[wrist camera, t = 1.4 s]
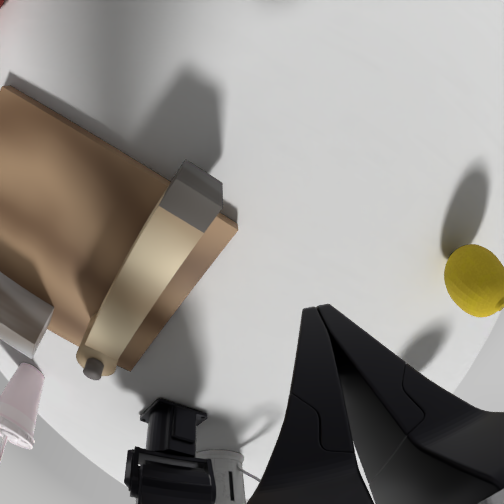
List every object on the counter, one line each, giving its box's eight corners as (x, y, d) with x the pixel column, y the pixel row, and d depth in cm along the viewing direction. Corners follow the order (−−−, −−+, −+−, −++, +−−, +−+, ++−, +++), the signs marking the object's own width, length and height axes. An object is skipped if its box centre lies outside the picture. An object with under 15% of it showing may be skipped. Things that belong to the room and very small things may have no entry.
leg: (118, 345, 24) (108, 381, 20) (86, 328, 22) (72, 363, 19) (226, 185, 18) (227, 211, 14) (181, 156, 17) (170, 175, 13)
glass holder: (179, 456, 40) (179, 537, 27) (254, 436, 37) (266, 531, 24) (213, 469, 44) (217, 541, 31) (282, 451, 41) (297, 531, 28)
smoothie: (4, 359, 26) (-34, 447, 14) (27, 350, 25) (-14, 453, 13) (36, 390, 29) (10, 476, 17) (63, 385, 29) (36, 484, 17)
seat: (132, 363, 27) (121, 418, 21) (-31, 265, 19) (-64, 304, 14) (237, 223, 20) (244, 278, 15) (9, 85, 13) (-50, 96, 8)
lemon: (421, 256, 24) (473, 314, 17) (463, 217, 22) (522, 265, 15) (438, 289, 26) (481, 344, 19) (476, 255, 24) (524, 302, 17)
